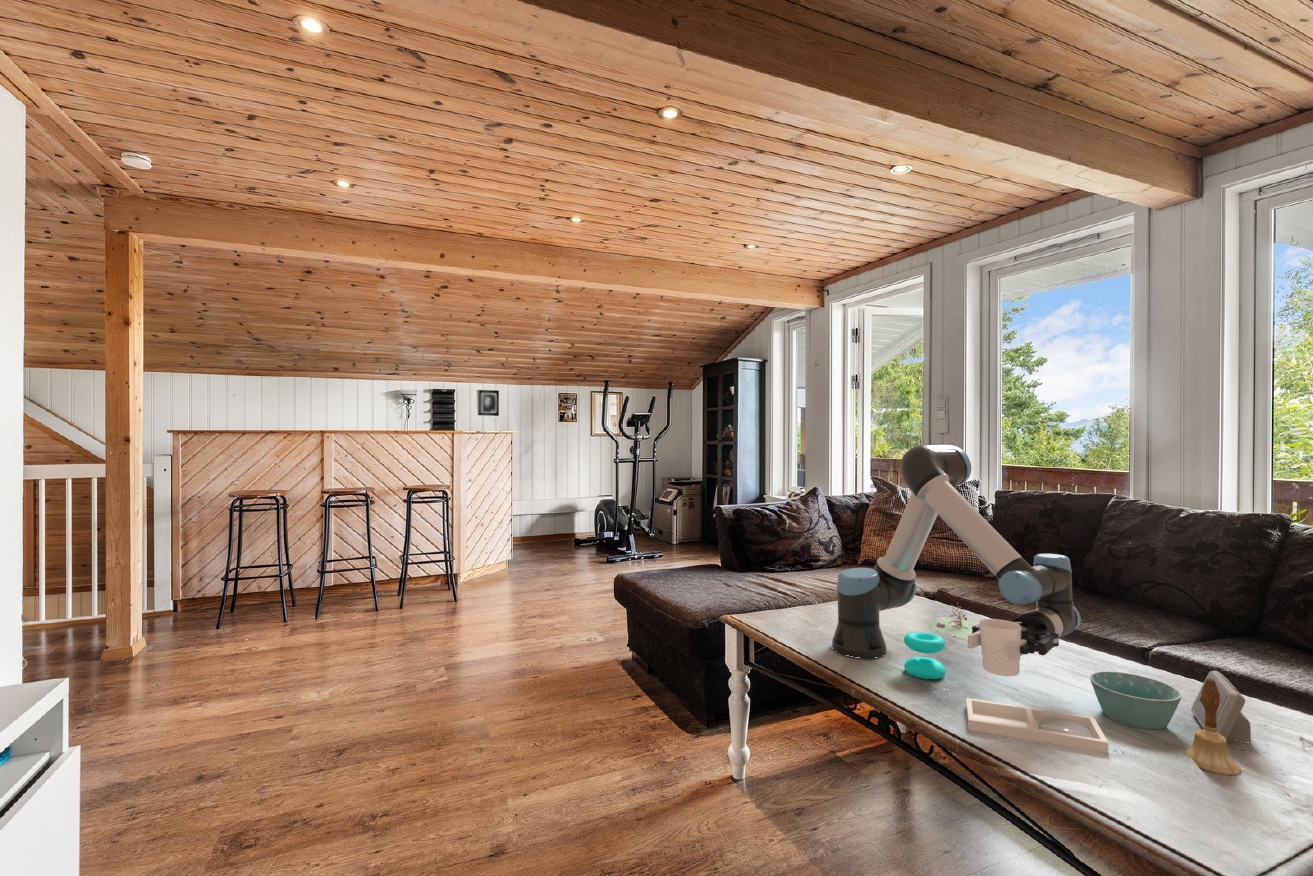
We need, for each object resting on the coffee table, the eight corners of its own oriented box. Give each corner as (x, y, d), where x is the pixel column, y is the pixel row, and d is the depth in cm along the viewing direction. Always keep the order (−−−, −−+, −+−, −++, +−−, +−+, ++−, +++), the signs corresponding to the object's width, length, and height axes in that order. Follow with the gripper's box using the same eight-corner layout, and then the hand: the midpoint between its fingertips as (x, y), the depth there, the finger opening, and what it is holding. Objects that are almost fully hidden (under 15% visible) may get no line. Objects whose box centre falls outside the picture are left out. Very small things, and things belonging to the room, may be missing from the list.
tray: (968, 734, 127) (968, 719, 127) (966, 711, 138) (966, 698, 138) (1108, 758, 117) (1108, 742, 117) (1093, 731, 127) (1093, 717, 127)
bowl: (1167, 714, 135) (1167, 677, 135) (1195, 746, 121) (1194, 704, 121) (1083, 702, 142) (1082, 667, 142) (1099, 731, 128) (1099, 692, 128)
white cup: (1011, 664, 133) (1010, 619, 134) (1029, 678, 126) (1028, 630, 126) (973, 663, 134) (973, 618, 134) (990, 677, 126) (989, 629, 126)
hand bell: (1247, 766, 113) (1245, 681, 113) (1233, 780, 109) (1231, 691, 109) (1190, 748, 120) (1188, 667, 120) (1174, 760, 116) (1173, 676, 116)
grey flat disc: (1046, 740, 122) (1046, 735, 122) (1032, 720, 130) (1032, 716, 130) (1098, 746, 119) (1098, 741, 119) (1080, 725, 128) (1080, 721, 128)
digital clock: (1191, 712, 136) (1190, 664, 136) (1247, 724, 130) (1246, 674, 130) (1190, 738, 124) (1190, 686, 124) (1252, 753, 118) (1251, 698, 118)
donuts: (941, 644, 153) (899, 637, 159) (941, 684, 153) (900, 676, 159) (948, 634, 161) (908, 628, 167) (948, 672, 161) (909, 664, 167)
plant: (1026, 642, 186) (1026, 613, 186) (969, 648, 181) (969, 618, 181) (967, 620, 210) (966, 594, 210) (915, 624, 205) (915, 597, 205)
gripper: (1089, 655, 132) (1043, 680, 119) (992, 632, 149) (942, 651, 135) (1088, 621, 132) (1042, 641, 119) (991, 602, 149) (942, 618, 136)
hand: (989, 647), depth 127 cm, fingers closed on white cup, 8 cm apart
